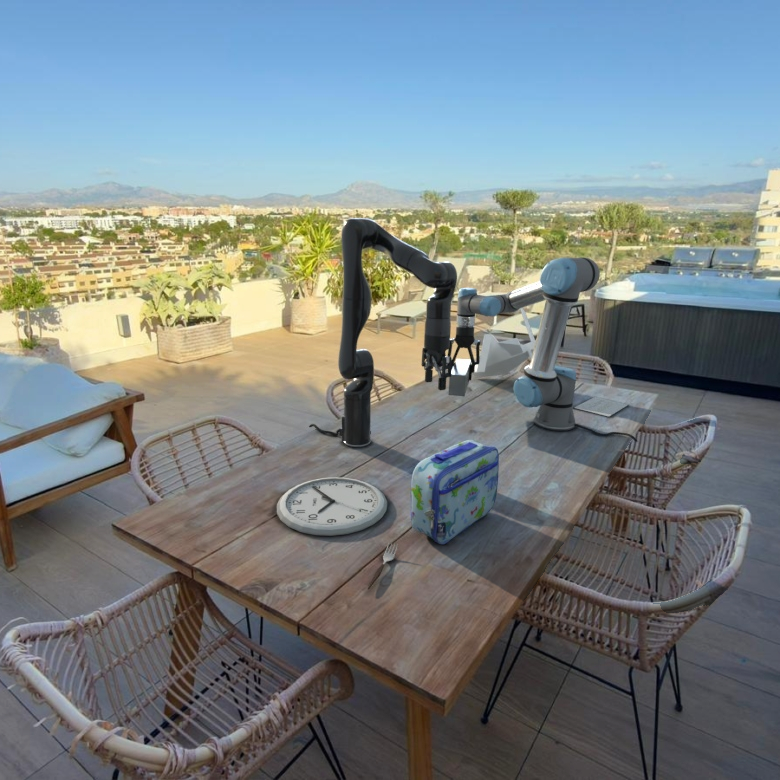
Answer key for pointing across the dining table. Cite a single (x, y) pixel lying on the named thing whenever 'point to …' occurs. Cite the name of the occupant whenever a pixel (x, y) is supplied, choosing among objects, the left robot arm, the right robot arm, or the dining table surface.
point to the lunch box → (453, 489)
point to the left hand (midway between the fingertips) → (435, 385)
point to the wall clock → (331, 506)
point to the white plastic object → (503, 354)
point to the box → (459, 377)
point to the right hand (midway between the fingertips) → (462, 378)
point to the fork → (386, 558)
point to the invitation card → (601, 406)
